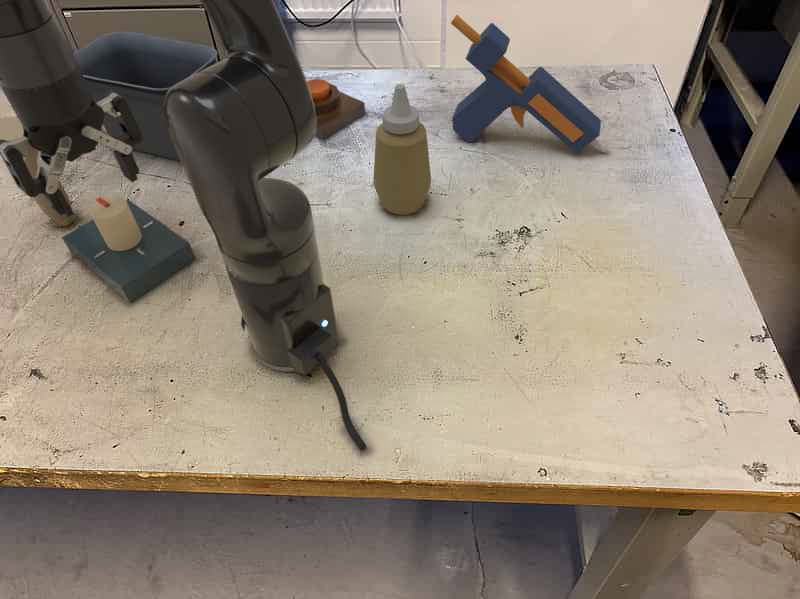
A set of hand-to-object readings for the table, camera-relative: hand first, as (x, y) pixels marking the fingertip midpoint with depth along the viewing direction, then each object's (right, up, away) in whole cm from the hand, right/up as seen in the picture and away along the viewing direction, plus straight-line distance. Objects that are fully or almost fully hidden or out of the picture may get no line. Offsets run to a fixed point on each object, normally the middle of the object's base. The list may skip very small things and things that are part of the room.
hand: (100, 195), depth 72 cm
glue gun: (+56, +12, +23) cm, 62 cm away
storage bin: (-1, +14, +26) cm, 30 cm away
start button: (+22, +21, +27) cm, 41 cm away
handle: (-12, -1, +13) cm, 18 cm away
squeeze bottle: (+36, +1, +14) cm, 39 cm away
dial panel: (0, -7, +8) cm, 11 cm away
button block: (+22, +19, +30) cm, 42 cm away
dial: (0, -5, +6) cm, 7 cm away
